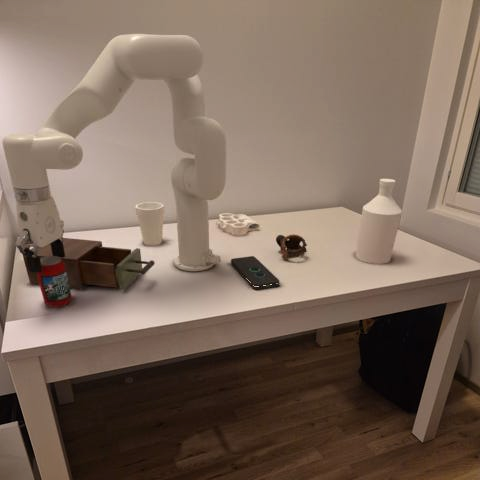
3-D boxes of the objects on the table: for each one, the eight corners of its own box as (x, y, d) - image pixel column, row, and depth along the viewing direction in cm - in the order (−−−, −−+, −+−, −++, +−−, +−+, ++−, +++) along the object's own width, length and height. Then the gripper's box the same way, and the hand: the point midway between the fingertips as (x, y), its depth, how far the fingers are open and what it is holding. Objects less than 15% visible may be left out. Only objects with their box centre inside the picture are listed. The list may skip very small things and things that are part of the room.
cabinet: (106, 269, 128) (101, 241, 123) (82, 289, 116) (76, 259, 111) (58, 264, 131) (52, 236, 126) (30, 283, 119) (22, 254, 114)
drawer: (159, 273, 124) (157, 250, 121) (142, 292, 113) (139, 268, 110) (96, 266, 128) (92, 244, 124) (73, 284, 117) (68, 260, 113)
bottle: (362, 247, 147) (375, 174, 134) (396, 255, 142) (413, 179, 129) (349, 258, 139) (361, 180, 126) (384, 267, 133) (401, 187, 120)
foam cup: (133, 244, 146) (129, 207, 139) (148, 236, 154) (145, 200, 147) (157, 248, 143) (154, 211, 136) (171, 240, 151) (168, 204, 144)
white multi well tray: (263, 232, 159) (227, 237, 154) (244, 219, 173) (210, 223, 168) (263, 224, 157) (227, 228, 152) (244, 211, 171) (210, 214, 166)
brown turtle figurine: (311, 255, 142) (313, 239, 135) (295, 273, 139) (296, 258, 131) (282, 239, 146) (283, 223, 139) (266, 256, 143) (266, 241, 136)
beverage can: (54, 311, 105) (43, 267, 99) (39, 303, 109) (28, 260, 103) (77, 301, 110) (69, 259, 104) (62, 294, 114) (53, 252, 107)
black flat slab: (254, 285, 117) (229, 258, 133) (253, 290, 117) (229, 263, 133) (280, 280, 119) (254, 255, 135) (280, 286, 120) (253, 260, 136)
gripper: (23, 205, 87) (40, 279, 96) (68, 186, 102) (80, 253, 110) (-9, 202, 88) (11, 276, 97) (40, 184, 103) (54, 250, 112)
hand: (48, 263), depth 104 cm, fingers open, 9 cm apart
